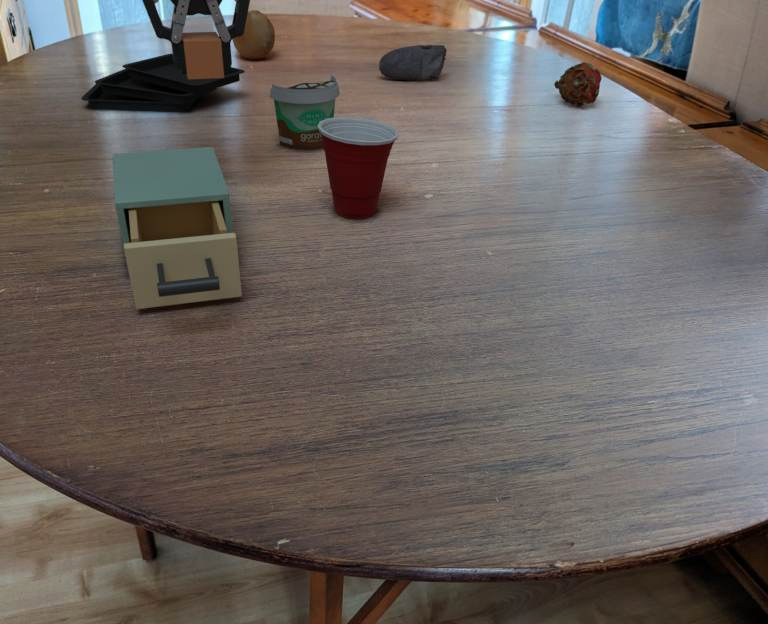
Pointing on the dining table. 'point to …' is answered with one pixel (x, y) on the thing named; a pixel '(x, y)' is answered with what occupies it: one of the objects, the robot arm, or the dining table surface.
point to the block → (203, 55)
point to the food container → (303, 112)
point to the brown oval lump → (256, 36)
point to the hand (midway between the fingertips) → (203, 71)
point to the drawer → (181, 255)
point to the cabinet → (167, 182)
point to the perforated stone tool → (413, 62)
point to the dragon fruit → (579, 84)
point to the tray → (153, 87)
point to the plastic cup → (356, 162)
